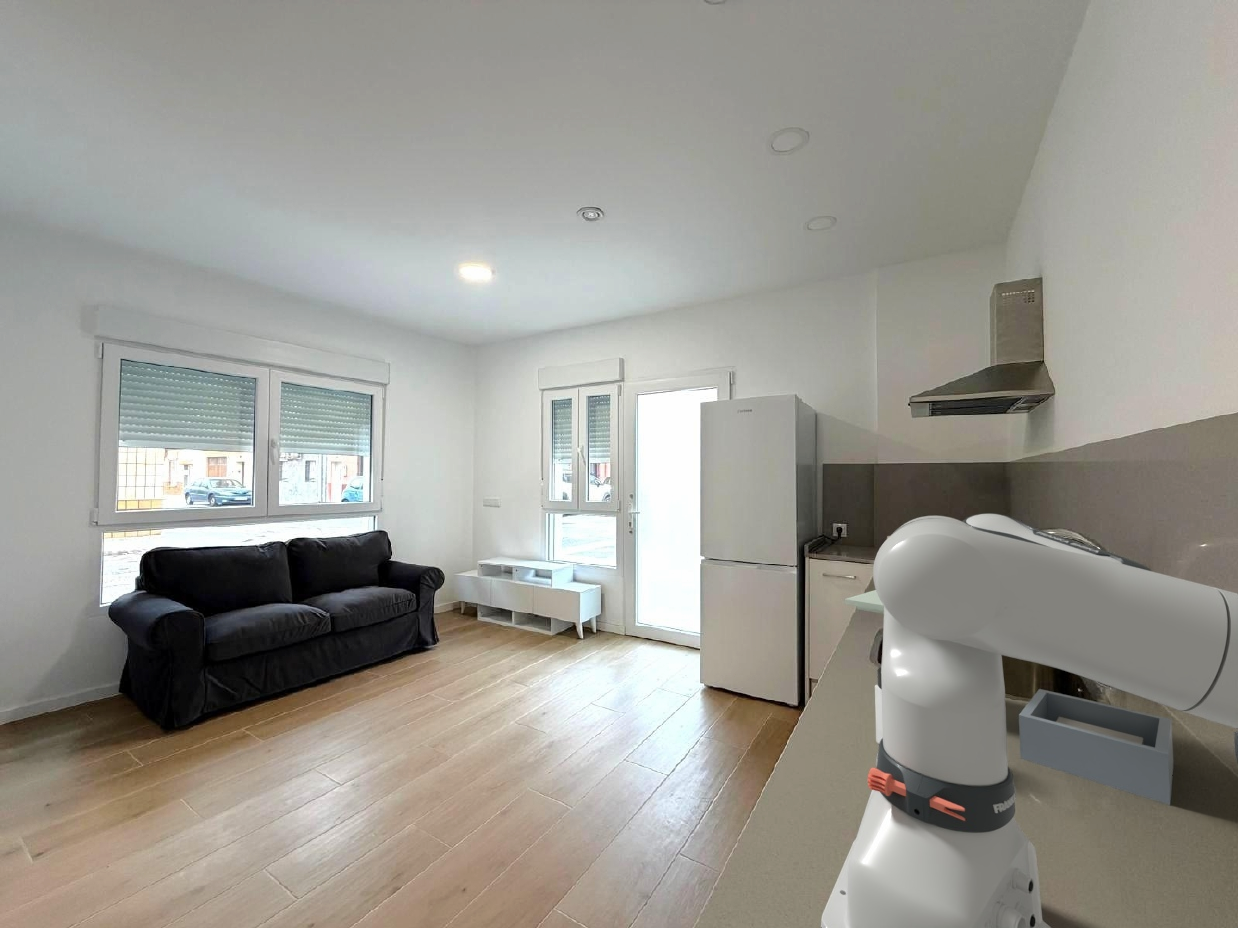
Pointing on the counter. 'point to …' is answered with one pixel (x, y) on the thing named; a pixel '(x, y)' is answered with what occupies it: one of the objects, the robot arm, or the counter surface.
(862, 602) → the lid
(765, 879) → the counter surface
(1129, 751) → the box
